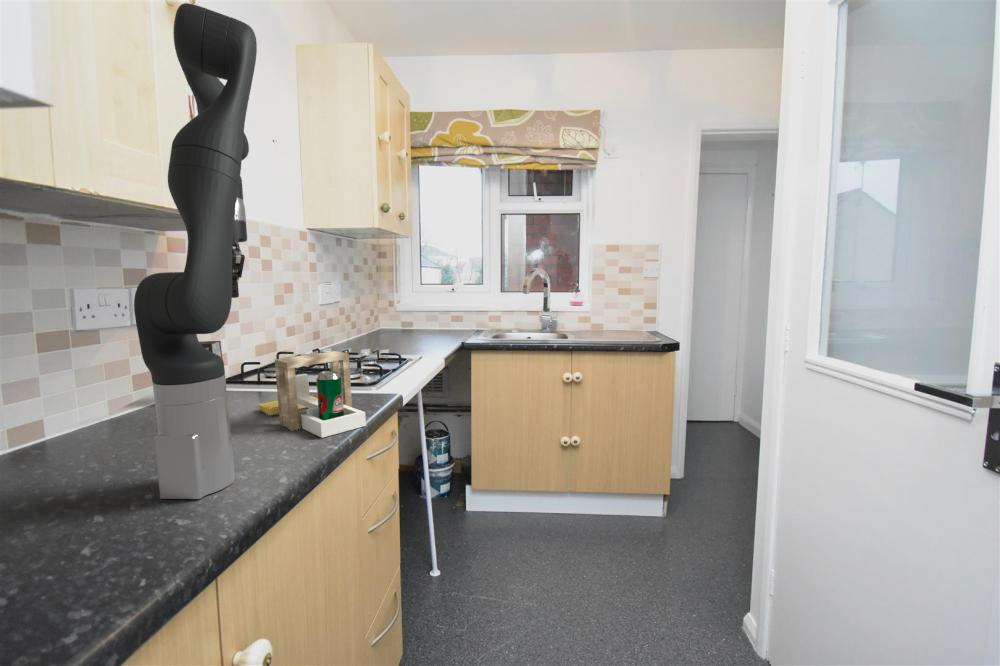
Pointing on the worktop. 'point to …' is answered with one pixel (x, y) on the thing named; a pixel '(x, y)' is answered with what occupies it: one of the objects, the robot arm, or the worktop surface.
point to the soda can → (330, 395)
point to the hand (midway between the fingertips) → (232, 297)
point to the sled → (328, 427)
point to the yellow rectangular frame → (276, 407)
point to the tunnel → (288, 382)
